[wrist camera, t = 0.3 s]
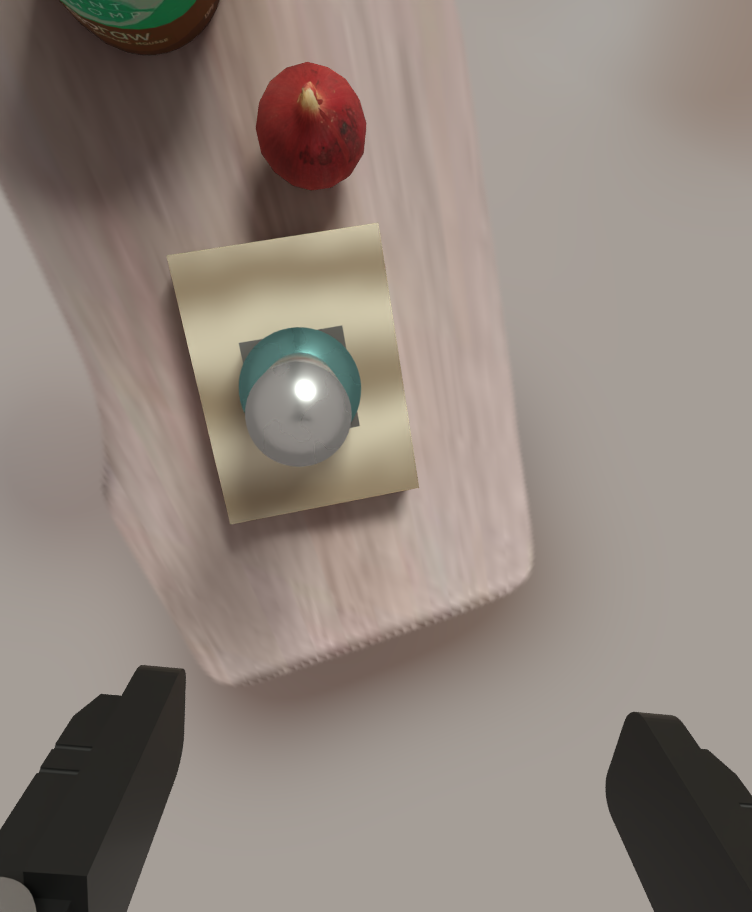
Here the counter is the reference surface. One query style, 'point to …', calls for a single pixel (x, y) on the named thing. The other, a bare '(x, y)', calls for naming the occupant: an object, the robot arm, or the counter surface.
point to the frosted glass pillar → (299, 395)
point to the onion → (311, 126)
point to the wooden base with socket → (287, 306)
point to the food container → (144, 22)
